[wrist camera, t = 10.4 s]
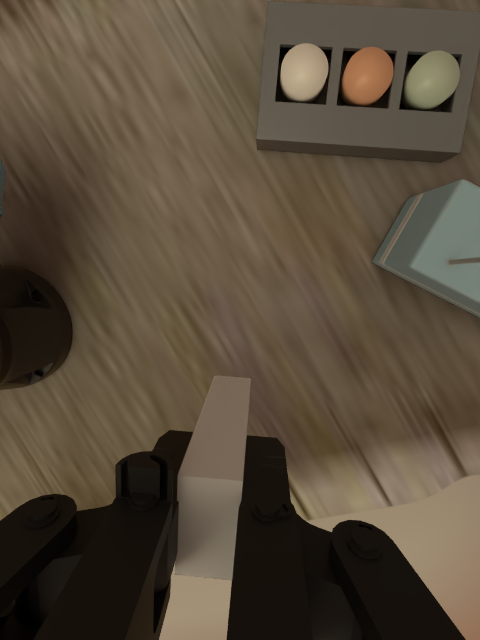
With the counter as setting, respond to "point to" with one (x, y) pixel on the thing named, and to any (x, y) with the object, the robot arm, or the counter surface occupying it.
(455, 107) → the grey piece
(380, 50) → the button terracotta
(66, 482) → the counter surface
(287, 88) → the button ivory
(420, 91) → the button sage
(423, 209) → the radio
